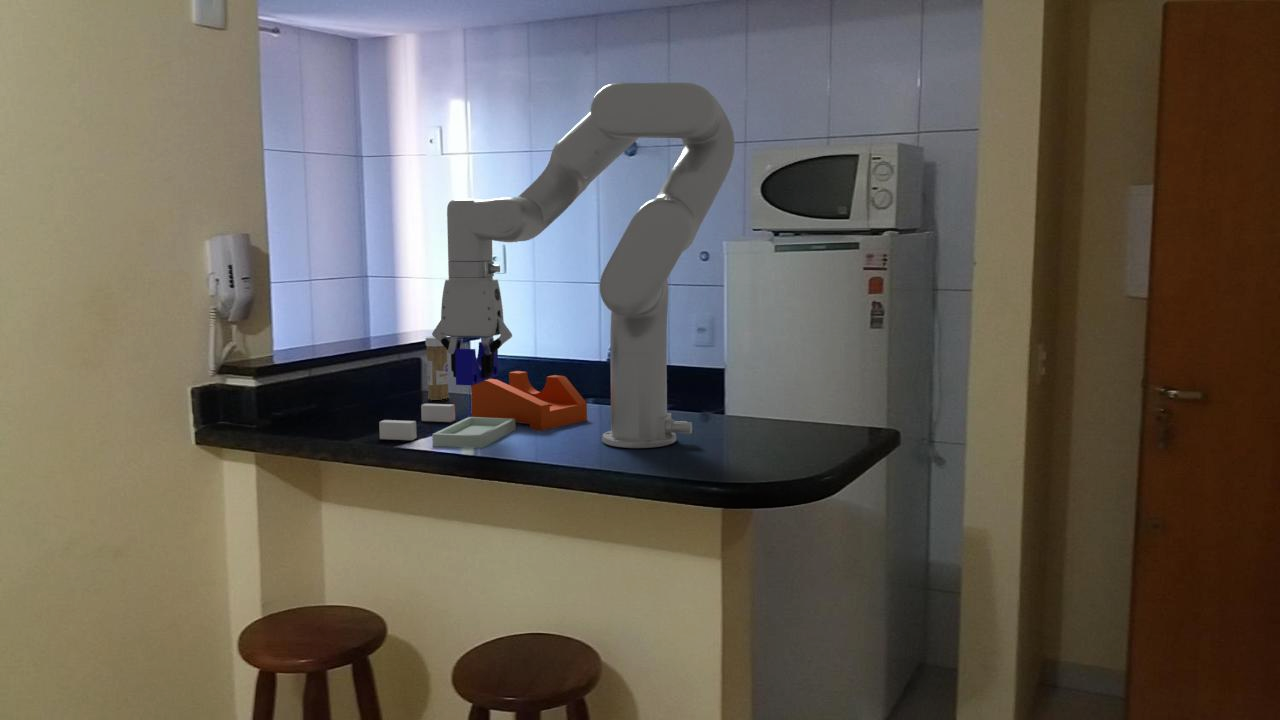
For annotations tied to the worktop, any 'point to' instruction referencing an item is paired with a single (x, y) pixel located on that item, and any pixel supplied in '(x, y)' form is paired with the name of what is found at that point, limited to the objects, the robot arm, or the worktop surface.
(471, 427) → the tray
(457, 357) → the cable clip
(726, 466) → the worktop surface
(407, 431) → the white rectangular blocks
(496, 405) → the tape dispenser
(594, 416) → the worktop surface
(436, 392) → the sprinkles bottle
